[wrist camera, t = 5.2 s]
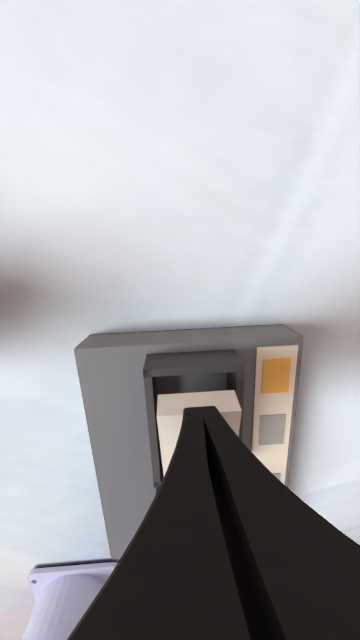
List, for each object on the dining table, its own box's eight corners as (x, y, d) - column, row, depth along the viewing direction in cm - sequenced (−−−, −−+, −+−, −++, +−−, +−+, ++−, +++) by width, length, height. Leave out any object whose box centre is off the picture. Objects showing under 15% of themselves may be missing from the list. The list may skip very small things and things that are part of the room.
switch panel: (267, 510, 19) (295, 579, 15) (118, 521, 19) (104, 596, 15) (282, 324, 15) (326, 349, 11) (89, 334, 15) (56, 364, 10)
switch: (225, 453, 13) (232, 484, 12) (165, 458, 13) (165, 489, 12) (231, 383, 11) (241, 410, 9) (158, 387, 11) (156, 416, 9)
